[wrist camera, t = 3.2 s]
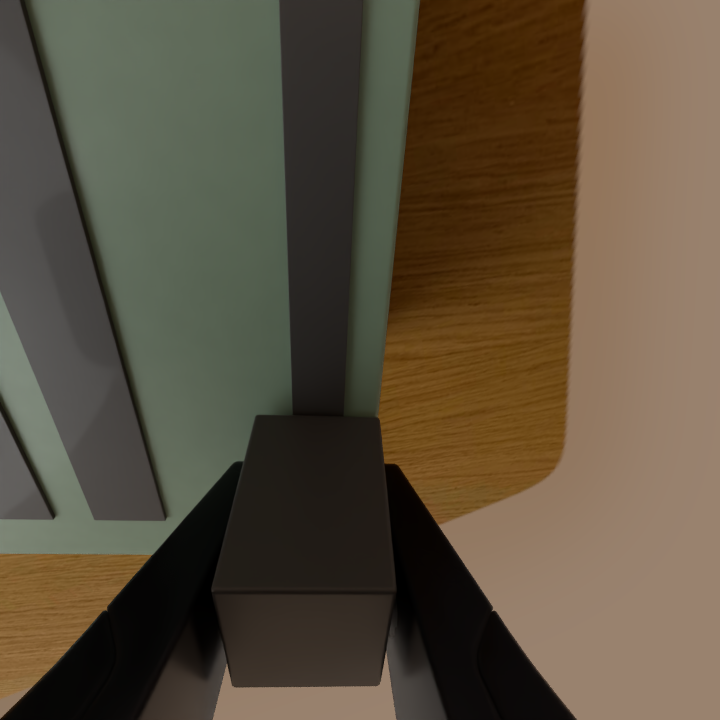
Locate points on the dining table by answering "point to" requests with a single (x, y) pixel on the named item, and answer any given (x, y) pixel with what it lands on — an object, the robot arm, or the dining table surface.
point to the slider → (308, 556)
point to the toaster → (186, 245)
